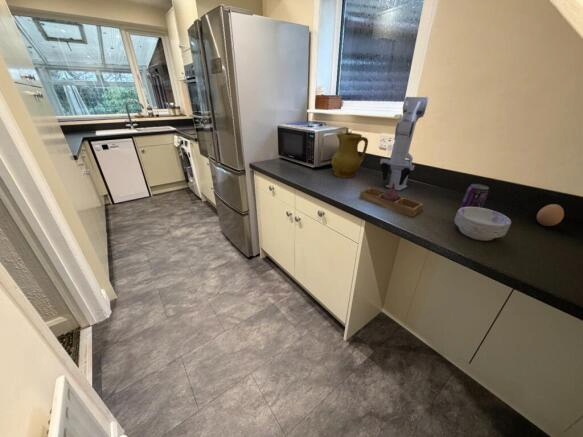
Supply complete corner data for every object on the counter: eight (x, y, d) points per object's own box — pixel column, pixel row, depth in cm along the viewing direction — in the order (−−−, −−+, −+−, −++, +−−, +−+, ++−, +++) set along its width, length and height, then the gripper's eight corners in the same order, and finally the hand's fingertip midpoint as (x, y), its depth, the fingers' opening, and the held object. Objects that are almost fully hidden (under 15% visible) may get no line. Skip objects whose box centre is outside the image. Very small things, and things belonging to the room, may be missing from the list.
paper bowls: (443, 222, 93) (450, 204, 89) (484, 224, 91) (492, 206, 88) (464, 244, 79) (473, 224, 76) (512, 247, 78) (524, 226, 74)
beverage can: (472, 217, 97) (484, 190, 91) (455, 210, 102) (465, 185, 97) (482, 214, 100) (494, 187, 94) (465, 207, 105) (475, 182, 100)
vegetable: (398, 203, 107) (403, 182, 103) (392, 206, 103) (397, 185, 99) (385, 199, 111) (390, 179, 106) (379, 202, 107) (384, 182, 103)
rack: (369, 193, 119) (370, 187, 117) (421, 210, 102) (423, 203, 100) (359, 198, 113) (360, 191, 112) (412, 217, 97) (414, 209, 95)
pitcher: (337, 168, 157) (342, 129, 144) (363, 175, 148) (372, 134, 135) (324, 175, 145) (329, 133, 132) (352, 183, 136) (361, 139, 123)
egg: (529, 223, 93) (541, 203, 89) (536, 219, 96) (548, 199, 92) (552, 231, 88) (566, 210, 83) (559, 226, 91) (572, 206, 86)
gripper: (379, 150, 101) (373, 180, 108) (412, 156, 92) (404, 188, 98) (387, 148, 105) (381, 176, 112) (420, 153, 96) (411, 184, 102)
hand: (392, 182), depth 105 cm, fingers open, 7 cm apart
